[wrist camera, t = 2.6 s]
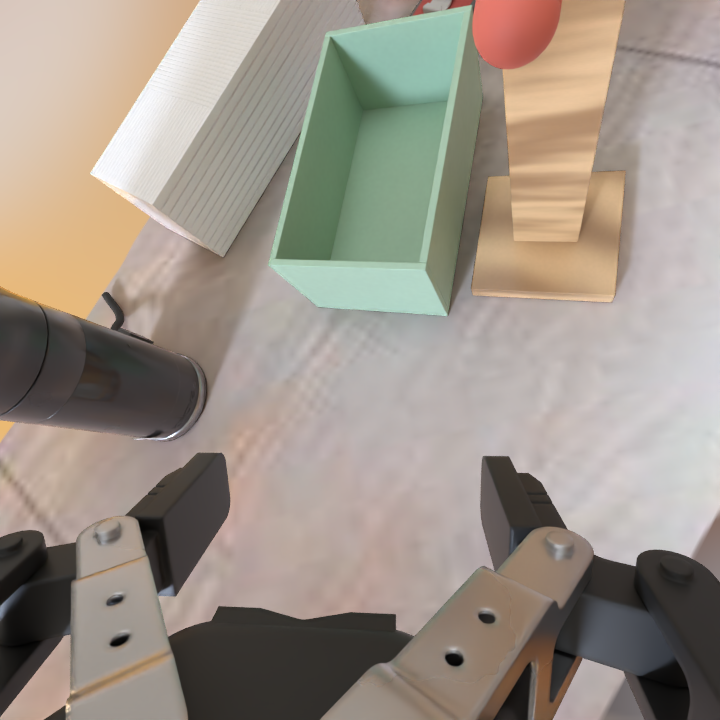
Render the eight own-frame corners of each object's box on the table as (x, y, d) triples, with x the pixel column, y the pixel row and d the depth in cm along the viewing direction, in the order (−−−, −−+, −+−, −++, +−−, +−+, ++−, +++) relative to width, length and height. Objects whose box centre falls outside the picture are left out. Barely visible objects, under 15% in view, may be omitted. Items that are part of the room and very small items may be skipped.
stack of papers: (298, 14, 58) (251, -82, 48) (365, 25, 53) (329, -78, 43) (166, 227, 56) (89, 173, 46) (223, 257, 52) (152, 204, 42)
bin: (447, 316, 41) (425, 270, 32) (317, 307, 46) (267, 265, 37) (483, 97, 45) (472, 4, 36) (361, 110, 50) (325, 31, 41)
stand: (611, 308, 36) (994, -515, 6) (471, 300, 40) (307, -221, 10) (623, 175, 38) (942, -881, 9) (489, 181, 43) (398, -523, 13)
